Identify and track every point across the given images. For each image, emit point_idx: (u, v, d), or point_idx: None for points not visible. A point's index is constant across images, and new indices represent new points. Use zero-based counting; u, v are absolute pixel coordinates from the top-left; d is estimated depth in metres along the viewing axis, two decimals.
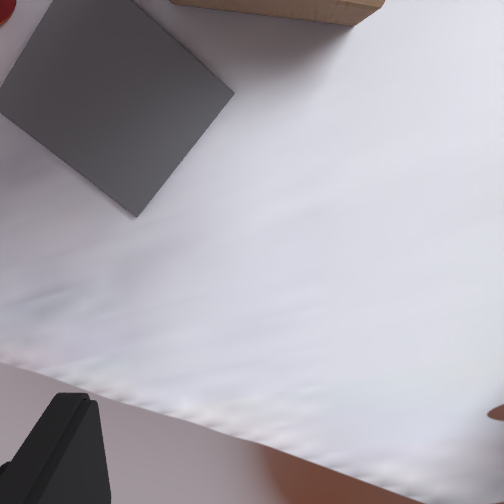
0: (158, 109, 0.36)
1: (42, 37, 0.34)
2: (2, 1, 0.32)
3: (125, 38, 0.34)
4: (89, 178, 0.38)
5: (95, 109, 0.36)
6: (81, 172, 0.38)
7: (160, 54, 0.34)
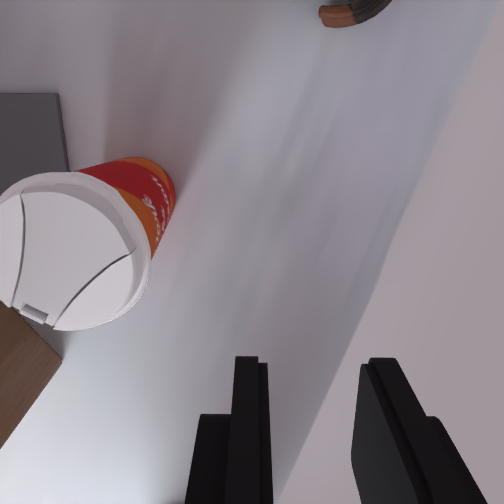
0: None
1: None
2: None
3: None
4: None
5: None
6: None
7: None
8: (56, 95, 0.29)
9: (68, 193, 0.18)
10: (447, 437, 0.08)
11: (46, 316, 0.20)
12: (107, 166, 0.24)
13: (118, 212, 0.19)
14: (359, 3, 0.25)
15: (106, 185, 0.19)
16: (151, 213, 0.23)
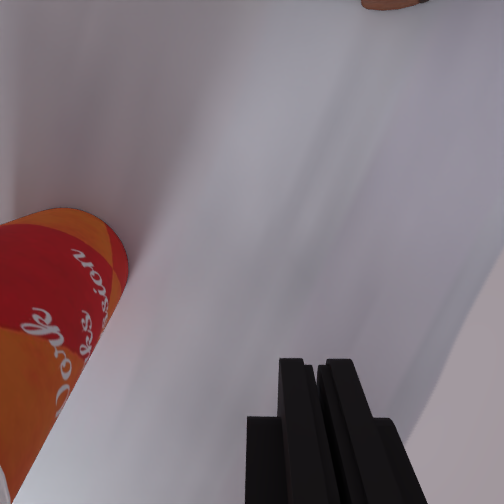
0: None
1: None
2: None
3: None
4: None
5: None
6: None
7: None
8: None
9: None
10: (398, 439, 0.08)
11: None
12: None
13: None
14: None
15: None
16: (44, 349, 0.11)
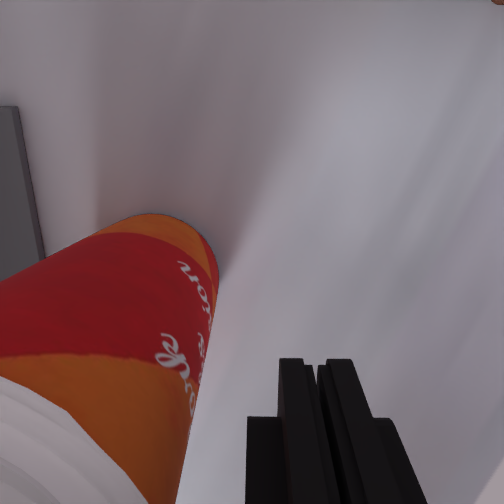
0: None
1: None
2: None
3: None
4: None
5: None
6: None
7: None
8: (14, 110, 0.17)
9: None
10: (398, 439, 0.08)
11: None
12: (85, 260, 0.11)
13: (70, 493, 0.06)
14: None
15: (32, 399, 0.06)
16: (177, 383, 0.10)
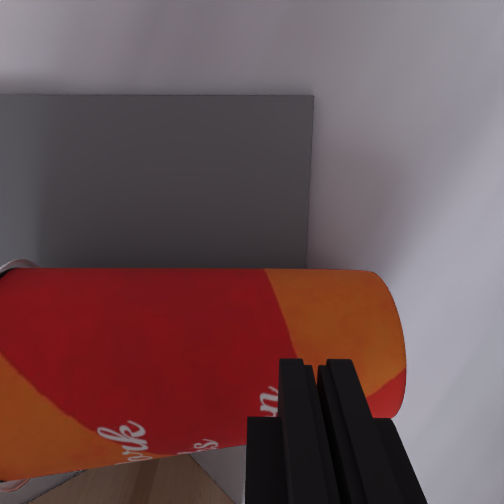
0: None
1: None
2: None
3: None
4: (52, 99, 0.16)
5: (139, 234, 0.18)
6: (74, 99, 0.16)
7: None
8: None
9: None
10: (398, 439, 0.08)
11: None
12: (178, 324, 0.13)
13: None
14: None
15: None
16: (109, 448, 0.13)
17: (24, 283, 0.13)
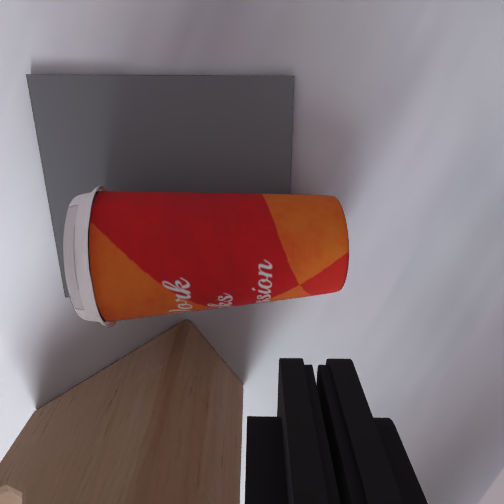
0: None
1: None
2: None
3: None
4: (120, 78, 0.24)
5: (176, 172, 0.26)
6: (135, 78, 0.24)
7: None
8: (293, 78, 0.24)
9: (69, 238, 0.20)
10: (399, 439, 0.08)
11: None
12: (208, 222, 0.21)
13: (81, 282, 0.20)
14: None
15: (87, 259, 0.20)
16: (168, 295, 0.21)
17: (111, 198, 0.22)
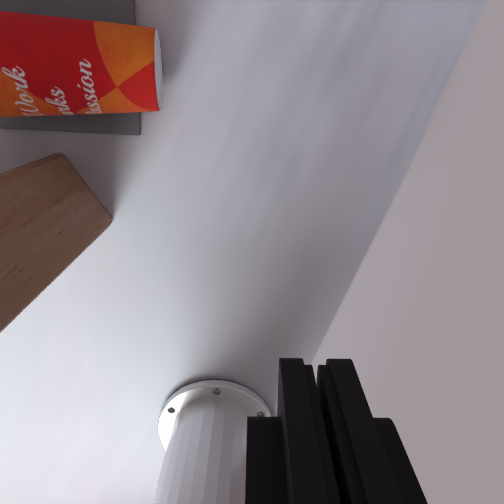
0: None
1: None
2: None
3: None
4: None
5: (41, 13, 0.32)
6: None
7: None
8: None
9: None
10: (398, 439, 0.08)
11: None
12: (41, 26, 0.28)
13: None
14: None
15: None
16: (9, 82, 0.28)
17: None
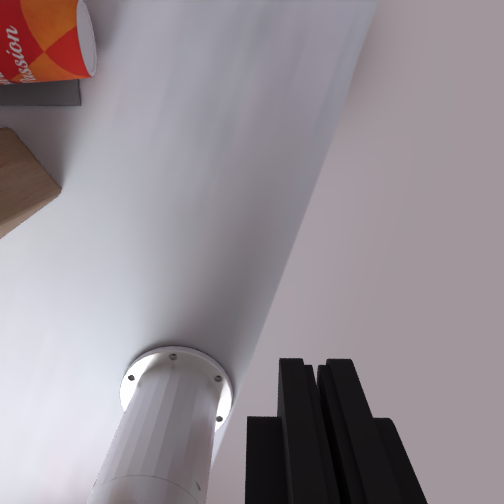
0: None
1: None
2: None
3: None
4: None
5: None
6: None
7: None
8: None
9: None
10: (398, 439, 0.08)
11: None
12: None
13: None
14: None
15: None
16: None
17: None
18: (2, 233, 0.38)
